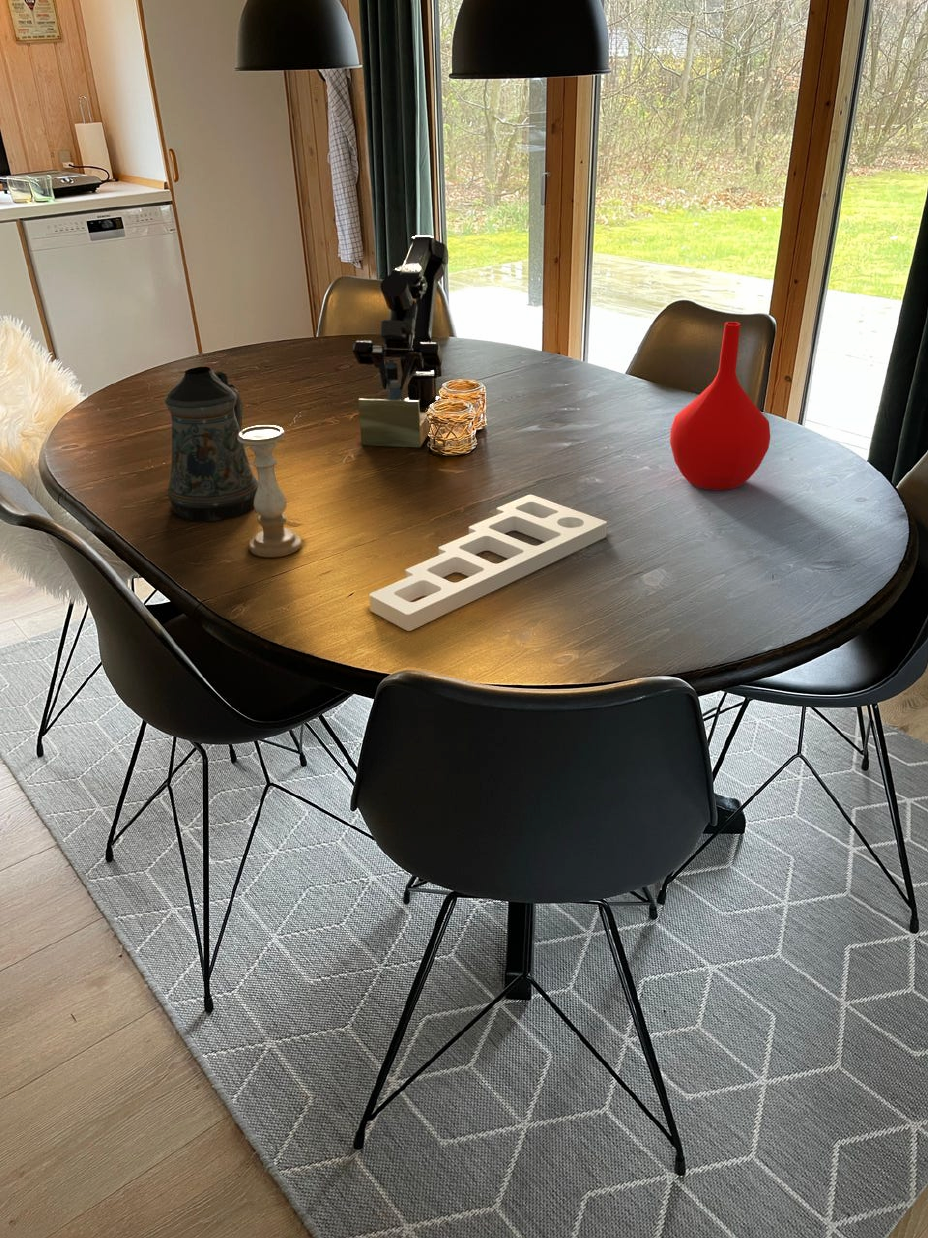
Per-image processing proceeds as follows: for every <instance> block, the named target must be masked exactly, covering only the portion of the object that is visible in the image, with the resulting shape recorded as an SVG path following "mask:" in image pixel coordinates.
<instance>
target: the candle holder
mask: <svg viewBox="0 0 928 1238" xmlns="http://www.w3.org/2000/svg"><path fill="white" fill-rule="evenodd" d="M285 437H286V432H285V430H284V429H283V428H282V427H280V426H278V425H271V424H262V425H254V426H250V427H246V428H243V429H241V431H240V432H239V433H238V435H237V439H238V441H239V442H240V443H242V444H244V446H248V447H249V449H250V450H251V451H252V452H253V453H254V455H255V458H254V459H253V462H252V466H253V467H255V468H256V472H257V481H258V488H257V491H256V494H255V497H254V507H253V509H254V511H255V512H256V514H258V515H259V516H258V518H257V523H258V524H259V526H261V527H262V530H260V531H259V532H257V533H256V534H255V535H254V537H253V538H252V539H251V540H250V541H249V543H248V548H249V551H250V552H251V553H252V554H253V555H255V556H257V557H261V558H279V557H285V556H288V555H291V554H294V553H295V552H297V551H299V550H300V548H301V546H302V538H301V536H300V535H298V533H296V532H294V531H293V530H291V529H290V528H286V527H284V526H285V523H286V521H287V519H288V517H287V515H286V514H284V512H285V511H286V509H287V504H288V503H287V498H286V495H285V494H284V492H283V490H282V489H281V488H280V486H279V484H278V481H277V478H276V477H277V476H276V473H275V466H276V465H277V464H278V462H277V460H276V458H275V457H274V456H273V451H274V449H275V448H276V445H277V443H279V442H281V441H282V440H284V439H285Z"/></svg>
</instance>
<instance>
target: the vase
mask: <svg viewBox="0 0 928 1238" xmlns="http://www.w3.org/2000/svg"><path fill="white" fill-rule="evenodd" d="M740 330H741V323H740V322H737V321H726V322H724V328H723V335H722V343H721V349H720V357H719V366H718V371H717V373H716V375H715V377H714V379H713V381H712V382H711V383H710V384H709V385H708V386H707V387H706V388H705V389H704V390H703V391H702V392H701V393H700V394H699V395H698V396H696V397H695V399H693V400H692V401H691V402H690V403H689V404H688V405H686V406H685V407H684V408H682V410H680V411H679V412H678V413H677V414H676V415H675V416H674V417H673V420H672V424H671V428H670V433H669V445H670V449H671V453H672V456H673V457H672V458H673V461H674V462H675V465H676V467H677V468H678V470H679V472H680V473H681V475H682V476H683V477H684V478H685V480H686V481H688V483H690V484H691V485H692V486H695V487H697V488H701V489H705V490H711V491H725V490H732V489H736V488H738V487H740V486H741V485H743V484H744V483H745V482H747V481H749V479H750V478H751V477H752V476H753V475H754V474H755V472H756V471H758V469H759V467H760V466H761V464H762V462H763V460H764V458H765V456H766V455H767V452H768V450H769V448H770V444H771V443H770V442H771V429H770V421H769V419H767V418H766V416H765V415H764V414H763V412H762V411H761V410H760V409H759V408H758V407H757V406H756V404H755V403H754V402H753V400H752V399H751V398H750V397H749V395H748V394H747V392H746V391H745V390H744V388H743V387H742V386H741V384H740V381H739V378H738V377H737V370H736V369H737V362H738V353H739V351H738V350H739V342H740V341H739V340H740Z"/></svg>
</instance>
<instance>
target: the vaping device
mask: <svg viewBox="0 0 928 1238" xmlns="http://www.w3.org/2000/svg"><path fill="white" fill-rule="evenodd" d="M386 368H387V369H386V370H387V399H391V400H403V393H402V391H403V390H401V383H400V380H399V375H398V373H399V372H398V364H397V363H395V360H394V359H389V360H388V364H386Z"/></svg>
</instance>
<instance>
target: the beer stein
mask: <svg viewBox="0 0 928 1238" xmlns="http://www.w3.org/2000/svg"><path fill="white" fill-rule="evenodd" d="M183 375H184V376H183V377H182V379H181V380H180V381H179V382H178V383H177V384H176V385H175V386H174V387H173V388H172V389H171V390H170V391H169V392H168V393H167V396H166V397H165V400H164V403H165V405H166V408H167V410H168V411H169V413H170V417H171V469H170V478H169V484H168V488H167V497H168V499H169V501H170V503H171V504H170V505H171V507H172V510H173V512H174V513H175V514H176V515H177V516H179V517H180V518H183V519H186V520H191V521H194V522H195V521H197V522H198V521H199V522H201V521H202V522H216V521H221V520H226V519H230V518H235V517H239V516H240V515H244V514H246V513H248V512H250V511H252V510H253V509H254V497H255V494H256V491H257V488H258V478H257V477H255V474H254V473H253V472H254V471H253V470H252V467H251V465H250V462H249V458H248V455H247V450H246V447H245V446H246V445H245V444H242V443H240V442H239V441H238V439H237V435H238V433H239V432H240V431H241V430H242V426H243V403H242V398H241V395H240V393H239V392H238V391H237V389H236V387H235V385H234V384H232V383H231V382H229V379H228V375H227V374H226V373H225V372H223V371H217V370H212V369H211V367H209V366H197V367H192V368H189V369H187V370H185V371H184V374H183Z"/></svg>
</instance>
